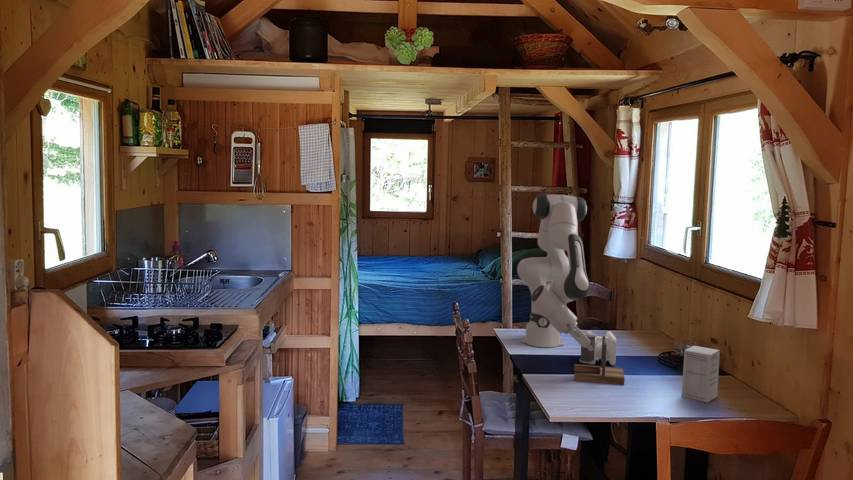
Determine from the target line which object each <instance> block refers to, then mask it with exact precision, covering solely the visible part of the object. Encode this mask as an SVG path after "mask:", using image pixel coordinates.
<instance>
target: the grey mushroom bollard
mask: <svg viewBox="0 0 853 480" xmlns="http://www.w3.org/2000/svg"><path fill="white" fill-rule="evenodd" d="M582 332H583V333H584V334H585V335H586V336H587V337H588V339H589V340H590V341H591V343H590V345H591V346H592V347H593V348H594V349H593V350H592V351H589V350H588V349H587V348H586V347H585V348H583V347H582V346H581V345H580V358H579V362H580V363H583V364H586V365H591V364H592V363H595V364H596V361H595V360H594V351H595V337H596V336H597V333H594V332H592V333H590V332H587V331H585V332H584V331H582Z"/></svg>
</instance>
